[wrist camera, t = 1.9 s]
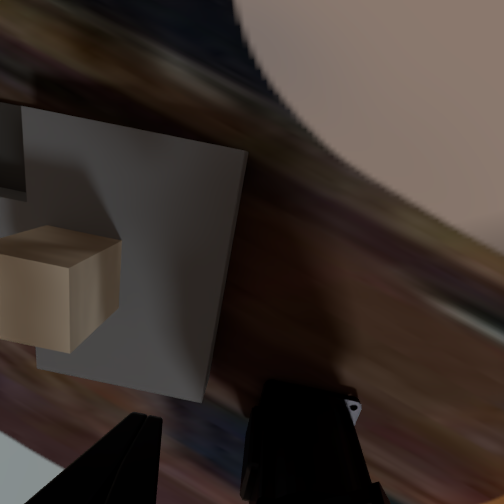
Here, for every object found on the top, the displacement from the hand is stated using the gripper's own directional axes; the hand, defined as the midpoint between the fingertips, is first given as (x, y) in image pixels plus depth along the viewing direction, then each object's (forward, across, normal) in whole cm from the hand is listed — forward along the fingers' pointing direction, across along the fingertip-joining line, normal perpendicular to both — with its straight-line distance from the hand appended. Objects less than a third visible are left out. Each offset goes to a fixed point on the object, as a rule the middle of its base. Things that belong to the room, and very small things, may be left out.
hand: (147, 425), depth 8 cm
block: (+8, +7, 0) cm, 11 cm away
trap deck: (+10, +10, 0) cm, 14 cm away
